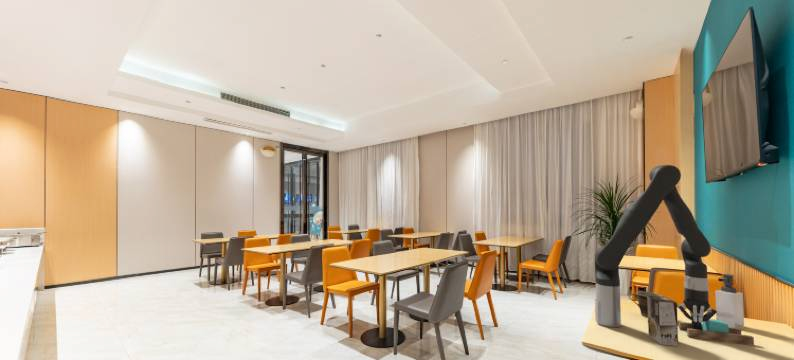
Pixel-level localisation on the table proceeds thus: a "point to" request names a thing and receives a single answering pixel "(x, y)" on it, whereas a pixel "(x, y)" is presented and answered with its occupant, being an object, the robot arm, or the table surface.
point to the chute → (717, 334)
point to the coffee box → (662, 320)
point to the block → (715, 326)
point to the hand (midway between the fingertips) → (696, 330)
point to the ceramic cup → (643, 301)
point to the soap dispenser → (729, 303)
